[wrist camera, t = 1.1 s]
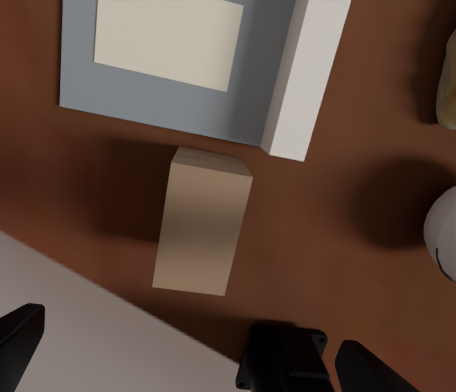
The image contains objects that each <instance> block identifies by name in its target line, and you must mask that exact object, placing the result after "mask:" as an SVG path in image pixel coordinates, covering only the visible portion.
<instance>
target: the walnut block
mask: <svg viewBox="0 0 456 392" xmlns="http://www.w3.org/2000/svg"><path fill="white" fill-rule="evenodd" d="M252 179H253V177H252V175H251V174H250V172H249V170H248V169H247V167H246V166H245V164H244V163H243V161H242V159H241V158H238V157H233V156H227V155H222V154H217V153H212V152H207V151H202V150H197V149H191V148H186V147H181V146H179V148H178V150H177V152H176V154H175V156H174V158H173V160H172V162H171V167H170V173H169V180H168V186H167V193H166V200H165V206H164V213H163V219H162V226H161V232H160V239H159V246H158V252H157V259H156V265H155V272H154V278H153V285H152V287H156V288H164V289H172V290H180V291H189V292H197V293H205V294H213V295H221V296H224V295H225V291H226V286H227V282H228V278H229V274H230V270H231V266H232V262H233V258H234V254H235V249H236V245H237V241H238V237H239V233H240V229H241V225H242V221H243V217H244V212H245V208H246V204H247V200H248V196H249V192H250V188H251V184H252Z"/></svg>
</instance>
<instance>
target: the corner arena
mask: <svg viewBox="0 0 456 392" xmlns="http://www.w3.org/2000/svg"><path fill="white" fill-rule="evenodd" d="M350 2H351V0H63V18H62V49H61V81H60V106H61V107H66V108H71V109H76V110H81V111H86V112H91V113H96V114H101V115H106V116H110V117H115V118H120V119H125V120H130V121H135V122H140V123H145V124H150V125H155V126H160V127H165V128H170V129H175V130H180V131H185V132H189V133H194V134H199V135H204V136H209V137H214V138H219V139H224V140H229V141H234V142H239V143H244V144H249V145H254V146H259V147H261V148H262V149H263V150H264V151H266V152H267V153H268V154H269V155H274V156H279V157H284V158H289V159H294V160H299V161H304V159H305V156H306V152H307V149H308V145H309V142H310V139H311V135H312V132H313V128H314V125H315V121H316V118H317V115H318V111H319V108H320V104H321V101H322V98H323V94H324V91H325V87H326V84H327V81H328V77H329V74H330V70H331V67H332V64H333V60H334V57H335V53H336V50H337V47H338V43H339V40H340V36H341V33H342V29H343V26H344V23H345V19H346V16H347V12H348V9H349V6H350Z"/></svg>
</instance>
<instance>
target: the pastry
mask: <svg viewBox="0 0 456 392" xmlns="http://www.w3.org/2000/svg"><path fill="white" fill-rule="evenodd" d="M446 52H447V54H446V58H445V60H444V63H443V69H442V74H441V78H440V81H439V85H438V92H437V100H436V117H437V120H438V123H439V125H440V126H441V127H443V128H445V129H456V29H455V30H454V32H453V33H452V35H451V36H450V38H449V40H448V42H447V44H446Z"/></svg>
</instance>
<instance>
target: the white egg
mask: <svg viewBox="0 0 456 392" xmlns="http://www.w3.org/2000/svg"><path fill="white" fill-rule="evenodd" d="M424 240H425V243H426V245H427V248H428V250H429V253H430V255H431V258H432V260H433V261H434V262H435V263H436V264H437V265H438V266H439V268H440V269H441V271H442V273H443V274H444V275H445V276H446V277H447V278H448V279H449V280H451V281H452V282H454V283H456V186H454V187H452V188H451V189H449V190H447V191H446V192H445V193H444V194H443V195H441V196H440V197H439V198H438V199H437V200H436V201H435V203H434V204H433V206H432V207H431V209H430V210H429V212H428V213H427V217H426V220H425V223H424Z"/></svg>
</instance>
